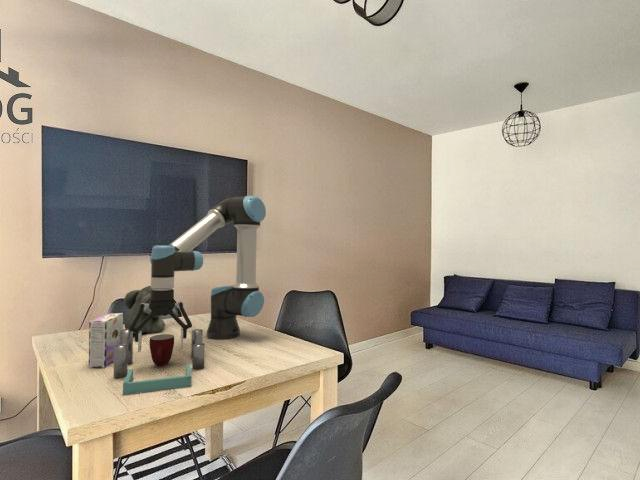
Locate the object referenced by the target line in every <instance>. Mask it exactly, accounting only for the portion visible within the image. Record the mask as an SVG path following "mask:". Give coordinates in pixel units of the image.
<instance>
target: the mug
mask: <svg viewBox="0 0 640 480" xmlns="http://www.w3.org/2000/svg"><path fill="white" fill-rule="evenodd" d="M174 347H175V335H174V334H169V333H167V334H166V333H163V334H162V333H161V334H155V335H152V336H150V337H149V351H150V356H151V360H152V362H153V364H154V365H155V367H157V368H158V367H159V368H161V367H166V366H168V365H169V363H170V361H171V359H172V357H173V353H174Z"/></svg>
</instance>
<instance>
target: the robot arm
mask: <svg viewBox="0 0 640 480" xmlns="http://www.w3.org/2000/svg"><path fill="white" fill-rule="evenodd" d="M265 205H266V204H265V203H264V202H263V201H262V199H261V198H260V197H258V196H257V195H244V196H232V197H228V198H225V199H224V200H222V201H220V202H219V203H217V204H215V206H213V207H212V208H211V209H209V210H208V211H207V213H206V215H205V216H204V217H203V218H202V219H200V220H199V221H198V222H196V223H195V224H194V225H193V226H191V227H190V228H189V229H188V230H186V231H185V232H183V234H181V235H180V236H179V237H177V238H176V239H175V240H174V241H172V242H171V243H169V244H168V245H157V244H156V245H154V246H152V249H151V255H150V257H149V260H150V261H149V262H150V264H151V267H150V268H151V269H150V270H151V271H150V286H151V288H152V289H153V290H151V301H150V304H145V303H142V304H141V305H140V311H139V312H138V314H137V316H136V318H135V320H134V321H133V323H132V325H131V327H130V328H129V331H132V332H134V333H135V335H134V342H135V343H137V353H141V351H142V337H143V336H142V334H143V333H142V331H140V330H141V329H142V328H143V326H144V325H145V324H146V323H147V322H148V321H149V320H150V319H151V318H152V317H153V316H154V315H156V316H159V317H160V316H161V317H162V316H163V317H164V316H166V317H167V316H168V315H169V316H170V317H172V319H173V320H174V321H175V322H176V323H177V324H178V325H179V326H180V327H181V329H180V349H181V350H183V349H184V339H187V337H188V336H187V335H188V334H187V333H188V332H187V331H188V329H190V328H192V327H193V323H192V321H191V319H190V318H189V316H188V314H187V312H186V310H185V308H184V303H183V301H179V302H175V290H174V287H175V272H190V271H191V272H193V271H197V270H201V268H202V267H203V265H204V256H203V254H202V253H201V252H200V251H198V250H194V249H195V248H196V247H198V246H199V245H200V244H201V243H202V242H204V241H205V240H206V239H207V238H208V237H210V236H211V235H212V234H213V233H215V231H216V230H218V229H220V228H223V227H225V226H226V225H229V224H231V223H233V226H234V228H236V230H237V232H236V233H237V235H236V241H237V242H236V280H235V281H236V282H235V284H232V285H226V286H218V287H217V286H216V287H213V288H211V291H210V293H211V294H210V321H209V324H208V327H207V330H206V338H208V339H211V340H228V339H234V338H236V337H239V336H240V335H241V329H240V326H239V323H238V319H237V316H240V317H244V318H247V317H248V318H254V317H256V316H257V315H259V314H260V312H262V309H263V308H264V305H265V304H264V303H265V296H264V295H263V293H262V292H261V291H260V286H259V284H258V283H257V282H256V280H257V278H256V277H257V275H256V274H257V239H258V237H257V235H258V234H257V233H258V232H257V231H258V229H260V227H261V222H263V221H264V220H265V218H266V214H267V213H266V212H267V211H266V210H267V209H266V206H265ZM148 307H149V308H150V310H151V311H152V312H151V313H150V314H149V315H148V316H147V317H146V318H145V319H144V321H143V322H142V323H141V324H140V325H139V326H138V327H137V328H135V325H136V324H137V322H138V320H139V318H140V316H141V315H142V313H143V311H144V310H146V309H147V308H148ZM175 307H176V308H177V309H178V310H179V311H180V313H181V315H182V317H183V319H184V320H185V322H184V321H183V320H182V319H181V318H180V317H179V316H178V315H177V313H175V312H174V310H173V309H174V308H175Z"/></svg>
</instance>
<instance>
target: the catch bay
mask: <svg viewBox="0 0 640 480" xmlns="http://www.w3.org/2000/svg"><path fill="white" fill-rule="evenodd" d="M185 364H186V365H185V366H186V369H185V372H186V373H185V374H186V375H181V376H172V377H171V376H170V377H163V378H154V379H153V378H151V379H145V380H144V379H143V380H137V381H133V380H134V368H129V369H128V373H127V376H126V377H124V381H123V383H122V395H123V396H124V395H132V394H133V395H135V394H139V393H140V392H141V393H148V391H149V392H156V391H155V390H157V391H163V389H165V390H172V389H179V387H181V388H186V387H185V386H188V387H192V371H191V370H192V369H191V368H192V367H191V363H190V362H186V363H185ZM141 393H140V394H141Z"/></svg>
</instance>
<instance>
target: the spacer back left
mask: <svg viewBox="0 0 640 480" xmlns="http://www.w3.org/2000/svg"><path fill="white" fill-rule="evenodd" d="M203 334H204V333H203V329H201V328H198V329H197V328H196V329H192V330H191V337H190V338H191V343H190V345H191V346H190V347H191V351H190V355H191V356H190V357H191V358H192V345H193V344H197V343H203V336H204V335H203Z"/></svg>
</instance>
